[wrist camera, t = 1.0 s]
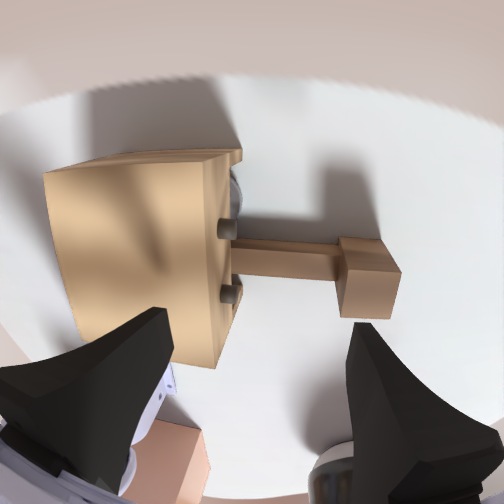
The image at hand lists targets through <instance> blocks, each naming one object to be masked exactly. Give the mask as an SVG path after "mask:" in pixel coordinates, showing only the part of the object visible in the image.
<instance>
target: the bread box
mask: <svg viewBox="0 0 504 504" xmlns="http://www.w3.org/2000/svg"><path fill="white" fill-rule="evenodd" d="M241 161H242V148H213V149H179V150H159V151H144V152H131V153H120V154H116V155H111V156H107V157H103V158H98V159H94V160H90V161H86V162H82V163H78V164H75V165H71V166H67V167H64V168H60V169H56V170H53V171H50V172H46V173H43V179H44V187H45V195H46V202H47V208H48V214H49V220H50V226H51V231H52V236H53V241H54V246H55V250H56V255H57V259H58V263H59V267H60V271H61V275H62V279H63V282H64V286H65V290H66V293H67V296H68V300H69V303H70V306H71V309H72V313H73V316H74V319H75V322H76V325H77V328H78V330H79V333H80V336H81V339H82V340H84V341H87V342H92V341H94V340H96V339H98V338H100V337H102V336H103V335H105V334H107V333H109V332H111V331H112V330H114V329H116V328H117V327H119V326H121V325H122V324H124V323H126V322H127V321H129V320H131V319H132V318H134V317H136V316H137V315H139V314H140V313H142V312H144V311H146V310H147V309H149V308H151V307H153V306H154V307H161V308H167V313H168V318H169V323H170V328H171V333H172V338H173V343H174V350H173V353H172V356H171V359H170V362H175V363H181V364H186V365H192V366H198V367H204V368H210V369H215V368H216V366H217V363H218V360H219V357H220V355H221V352H222V349H223V347H224V344H225V341H226V338H227V336H228V333H229V330H230V328H231V325H232V322H233V319H234V317H235V314H236V311H237V309H238V306H239V303H240V300H241V298H242V295H243V285H236V284H232V282H231V240H236V238H237V233H238V221H237V219H230V169H229V168H230V167H231V166H233V165H235V164H237V163H239V162H241Z"/></svg>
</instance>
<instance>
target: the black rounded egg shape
mask: <svg viewBox="0 0 504 504" xmlns="http://www.w3.org/2000/svg"><path fill="white" fill-rule="evenodd" d="M352 479H353V441H349V442H344V443H341V444H338V445H336V446H333V447H331V448H330V449H328V450H327V451H325V452H324V453H323V454H322V455H321V456H320V457H319V458H318V460H317V461H316V463H315V465H314V467H313V470H312V471H311V472H310V474H309V477H308V494H309V503H310V504H350V503H351V493H352Z"/></svg>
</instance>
